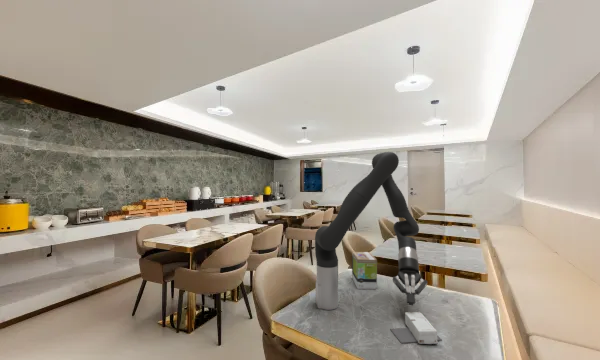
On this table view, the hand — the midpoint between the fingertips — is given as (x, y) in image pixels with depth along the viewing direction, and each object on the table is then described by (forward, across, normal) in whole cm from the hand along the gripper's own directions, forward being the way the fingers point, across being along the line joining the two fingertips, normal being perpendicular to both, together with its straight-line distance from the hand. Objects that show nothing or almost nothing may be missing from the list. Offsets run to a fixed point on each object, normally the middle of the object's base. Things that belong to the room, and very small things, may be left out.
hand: (411, 304), depth 94 cm
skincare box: (+3, 0, +4) cm, 5 cm away
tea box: (-19, -20, +31) cm, 41 cm away
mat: (+10, +1, +1) cm, 10 cm away
